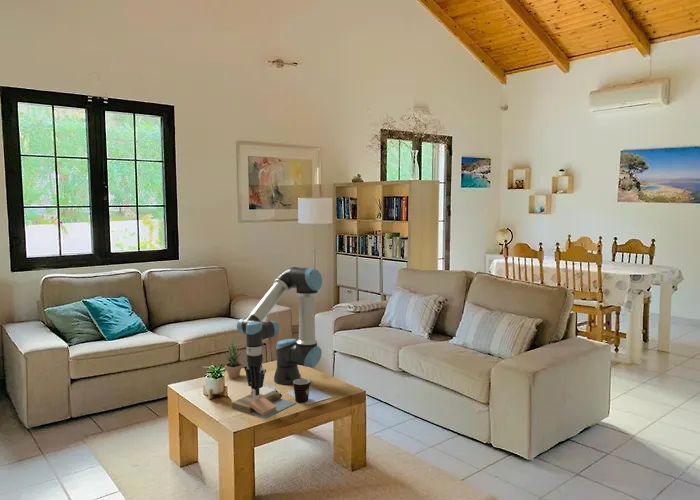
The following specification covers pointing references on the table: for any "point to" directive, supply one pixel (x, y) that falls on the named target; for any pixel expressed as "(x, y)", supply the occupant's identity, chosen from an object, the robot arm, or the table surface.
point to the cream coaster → (265, 392)
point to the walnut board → (245, 402)
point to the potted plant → (233, 361)
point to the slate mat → (280, 405)
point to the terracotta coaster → (263, 406)
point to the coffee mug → (301, 390)
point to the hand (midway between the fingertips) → (255, 401)
